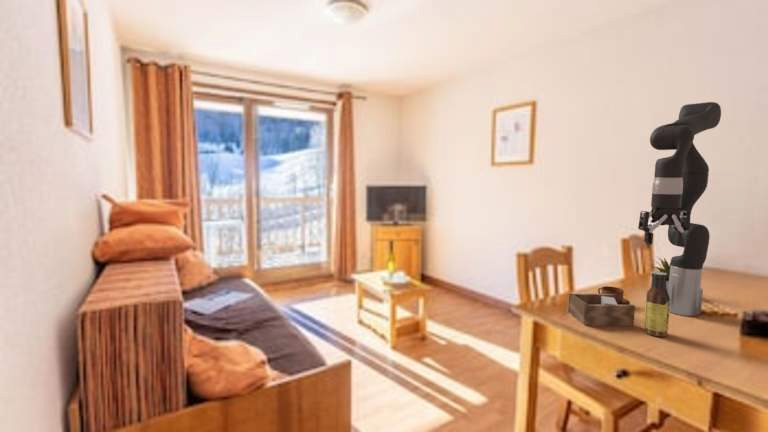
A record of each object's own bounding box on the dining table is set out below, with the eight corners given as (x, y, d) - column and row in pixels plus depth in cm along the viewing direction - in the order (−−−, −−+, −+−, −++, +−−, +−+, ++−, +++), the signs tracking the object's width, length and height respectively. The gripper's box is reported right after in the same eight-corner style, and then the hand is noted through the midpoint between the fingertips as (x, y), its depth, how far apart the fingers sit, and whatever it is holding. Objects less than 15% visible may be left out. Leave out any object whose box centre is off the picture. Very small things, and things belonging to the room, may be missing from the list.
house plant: (650, 285, 174) (653, 250, 172) (688, 292, 164) (692, 255, 162) (643, 293, 163) (646, 255, 161) (684, 300, 154) (688, 261, 152)
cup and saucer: (589, 303, 151) (590, 288, 150) (600, 297, 159) (601, 282, 158) (623, 312, 142) (624, 296, 141) (633, 304, 150) (635, 289, 149)
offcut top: (613, 306, 138) (613, 297, 137) (616, 314, 131) (617, 304, 130) (600, 305, 139) (601, 296, 139) (603, 312, 132) (604, 303, 132)
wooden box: (612, 312, 142) (613, 293, 141) (633, 325, 129) (635, 305, 128) (568, 311, 142) (569, 293, 141) (585, 325, 130) (586, 305, 129)
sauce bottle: (671, 338, 120) (677, 276, 117) (648, 336, 121) (654, 275, 119) (660, 330, 126) (666, 271, 124) (639, 328, 127) (644, 270, 125)
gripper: (681, 191, 121) (676, 241, 123) (635, 191, 122) (632, 242, 124) (700, 193, 114) (694, 246, 116) (651, 193, 114) (647, 246, 116)
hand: (662, 244), depth 120 cm, fingers open, 8 cm apart
